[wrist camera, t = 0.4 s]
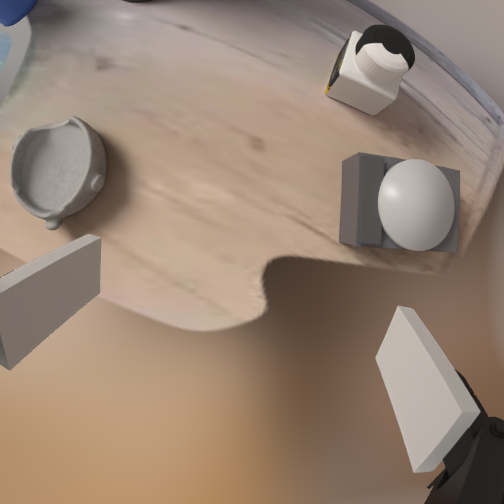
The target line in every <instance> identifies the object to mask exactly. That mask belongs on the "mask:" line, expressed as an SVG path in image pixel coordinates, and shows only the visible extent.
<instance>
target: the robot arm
mask: <svg viewBox="0 0 504 504" xmlns="http://www.w3.org/2000/svg"><path fill="white" fill-rule="evenodd" d="M125 1H131V2H143V1H150V0H125ZM101 238H102V237H98V236H94V235H90V234H87V235H84V236H82V237H80V238H78V239H76V240H74V241H72V242H69V243H67V244H65V245H63V246H61V247H59V248H57V249H55V250H53V251H51V252H49V253H47V254H45V255H43V256H41V257H39V258H37V259H35V260H33V261H31V262H29V263H27V264H25V265H24V266H22V267H20V268H18V269H16V270H13V271H11V272H9V273H7V274H5V275H4V276H3V277H0V365H2V366H3V367H5V368H6V369H8V370H11V369H12V368H13V367H14V366H16V365H17V364H18V363H19V362H20V361H21V360H22V359H23V358H24V357H26V356H27V355H28V354H29V353H30V352H31V351H32V350H33V349H35V347H37V346H38V345H39V344H40V343H41V342H42V341H44V340H45V339H46V338H47V337H48V336H49V335H50V334H52V333H53V332H54V331H55V330H56V329H57V328H59V327H60V326H61V325H62V324H63V323H64V322H66V321H67V320H68V319H69V318H70V317H71V316H73V315H74V314H75V313H76V312H77V311H79V310H80V309H81V308H82V307H83V306H85V305H86V304H87V303H88V302H89V301H91V300H92V299H93V298H94V297H96V296H97V295H98V294H99V293H100V262H101ZM376 361H377V364H378V366H379V369H380V372H381V374H382V377H383V380H384V383H385V386H386V388H387V391H388V394H389V397H390V400H391V403H392V406H393V409H394V412H395V414H396V418H397V421H398V424H399V427H400V430H401V433H402V436H403V439H404V443H405V446H406V449H407V452H408V455H409V459H410V462H411V465H412V469H413V472H414V473H418V472H430V471H433V470H434V469H435V468H436V467H437V466H438V465H439V463H440V462H441V461H442V460H443V461H444V464H445V467H446V468H445V469H444V470H443V471H442V472H441V473H440V474H439V476H437V477H436V478H435V480H434V481H433V482H432V483H431V484H430V485H429V486H428V487H427V488H429V489H430V488H431V487H432V486H433V485H434V487H433V488H432V490H431V492H430V494H429V496H428V498H427V500H426V501H425V503H424V504H504V421H503V420H502V419H500V418H497V417H488V415H487V413H486V412H485V410H484V408H483V407H482V405H481V403H480V402H479V400H478V399H477V397H476V395H474V392H473V390H472V389H471V388H469V384H468V383H467V381H466V379H465V378H464V377H463V376H462V375H461V374H460V373H459V372H458V371H457V370H456V369H454V368H453V366H452V365H451V363H450V362H449V360H448V359H447V357H446V356H445V354H444V353H443V351H442V350H441V348H440V347H439V345H438V344H437V342H436V341H435V339H434V338H433V337H432V335H431V334H430V332H429V331H428V329H427V328H426V327H425V325H424V324H423V322H422V321H421V320H420V318H419V317H418V315H417V314H416V313H415V311H414V310H413V309H412V308H407V307H402V306H398V307H397V310H396V312H395V314H394V317H393V319H392V322H391V324H390V326H389V329H388V331H387V333H386V336H385V338H384V340H383V342H382V345H381V347H380V349H379V351H378V354H377V356H376Z"/></svg>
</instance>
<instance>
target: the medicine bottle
mask: <svg viewBox="0 0 504 504" xmlns="http://www.w3.org/2000/svg"><path fill="white" fill-rule="evenodd" d="M414 61H415V54H414V50H413V48H412V45H411V44H410V42H409V41H408V39H407V38H406V37H405V36H404V35H403V34H402V33H401V32H399V31H398V30H396V29H394V28H392V27H389V26H386V25H373V26H370V27H369V28H367V29H366V30H365V32H364V33H363V34H362V33H359V32H357V31H353V32H352V33H351V35H350V37H349V38H348V40H347V41H346V43H345V45H344V46H343V48H342V49H341V51H340V53H339V54H338V57H337V60H336V63H335V65H334V68H333V71H332V74H331V77H330V80H329V83H328V86H327V89H326V92H325V94H326V95H327V96H329V97H332V98H334V99H336V100H339V101H341V102H343V103H346V104H348V105H350V106H352V107H354V108H357V109H359V110H361V111H363V112H365V113H367V114H369V115H371V116H375V115H376V114H378V113H379V112H380V111H382V110H383V109H384V108H386V107H387V106H388V105H390V104H391V103H393V102H394V101H395V100H396V99H397V95H398V91H399V86H400V82H401V78H402V75H403V74H404V73H406V72H407V71H408V70H409V69H410V68H411V67H412V66H413V64H414Z"/></svg>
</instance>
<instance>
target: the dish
mask: <svg viewBox="0 0 504 504" xmlns="http://www.w3.org/2000/svg"><path fill="white" fill-rule="evenodd" d="M12 148H13V150H14V151H13V154H12V158H11V164H10V183H11V186H12V188H13V192H14V195H15V197H16V199H17V200H18V202H19V203H20V204H21V205H22V206H23V207H24V208H25V209H26V210H27V211H28V212H30V213H31V214H33V215H34V216H36V217H39V218H42V219H45V220H46V222H47V223H46V228H47V229H49V230H56V229H58V228H59V227H60V226H61V225H62V219H63V218H64V217H67V216H70V215H72V214H74V213H76V212H78V211H80V210H82V209H83V208H85V207H86V206H87V205H88V204H89V203H90V202H91V201H92V200H93V199H94V198H95V197H96V196H97V194H98V193H99V191H100V190H101V189H102V188H103V186H104V184H105V176H106V170H107V159H106V153H105V149H104V146H103V143H102V141H101V139H100V137H99V136H98V134H97V133H96V132H95V131H94V129H93V128H92V127H91V126H89V125H88V124H87V123H86V122H84V121H83V120H81V119H79V118H77V117H75V116H71V117H70V118H69V119H68V120H66V121H63V122H58V123H55V124H50V125H46V126H42V127H38V128H31V129H28V130H26V131H25V132H24V133H23V134H22V135H20V136H19V137H18V138H16V139H15V141H14V143H13V146H12Z"/></svg>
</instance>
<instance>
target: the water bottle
mask: <svg viewBox="0 0 504 504" xmlns="http://www.w3.org/2000/svg"><path fill="white" fill-rule="evenodd" d="M36 1H37V0H0V23H1V24H3V25H4V26H11V25H14V24H15V23H17V22H19V21H20V20H21V19H22V18H24V17H25V16H26V15H27V14H28V13H29V11H30V10H31V9H32V8H33V6H34V5H35V3H36Z"/></svg>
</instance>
